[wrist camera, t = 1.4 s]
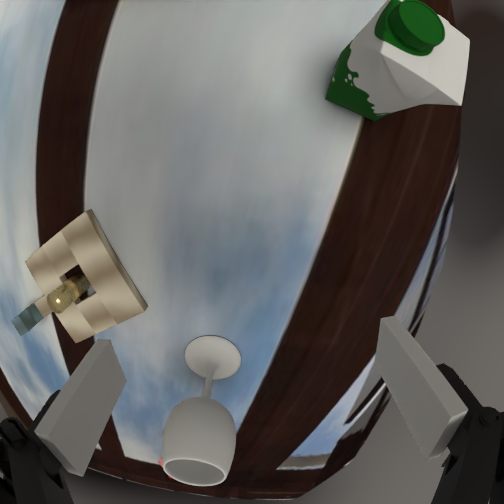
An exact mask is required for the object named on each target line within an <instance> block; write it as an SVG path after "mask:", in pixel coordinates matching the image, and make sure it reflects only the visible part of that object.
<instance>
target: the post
mask: <svg viewBox="0 0 504 504" xmlns="http://www.w3.org/2000/svg"><path fill="white" fill-rule="evenodd" d="M89 287H90V282H89V280H88V279H87V277H86V275H85V274H84V272H77V273H76V274H75V275H73V276H72V277H71V278H69V279H68V280H67V281H65V282H64V283H63V284H61V285H60V286H59V287H57V288H56V289H55V290H53V291H52V292H51V293H50V294H48V296H47V303H48V306H49V307H50V309H51V310H52V311H53V312H55V313H57V314H60V313H62V312H63V311H64V310H65V309H66V308H67V307H68V306H70V305H71V304H72V303H73V302H74V301H75V300H76V299H77V298H78V297H79V296H81V295H82V294H83V293H84V292H85V291H86V290H87V289H88V288H89Z"/></svg>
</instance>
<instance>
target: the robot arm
mask: <svg viewBox="0 0 504 504" xmlns="http://www.w3.org/2000/svg"><path fill="white" fill-rule="evenodd" d="M375 365H376V367H377V369H378V371H379V372H380V374H381V376H382V378H383V380H384V382H385V383H386V385H387V387H388V389H389V391H390V393H391V395H392V396H393V398H394V400H395V402H396V404H397V405H398V408H399V410H400V411H401V414H402V415H403V417H404V419H405V421H406V423H407V425H408V427H409V429H410V431H411V433H412V435H413V437H414V439H415V441H416V443H417V445H418V447H419V449H420V451H421V453H422V455H423V457H424V459H425V461H429V460H431V459H433V458H436V457H438V456H440V455H442V454H443V452H444V451H445V449H446V447H448V448H449V450H450V454H449V455H448V457H447V458H446V460H445V461H444V463H443V464H442V467H444V466H445V468H444V471H443V474H442V477H441V480H440V482H439V485H438V488H437V490H436V493H435V495H434V498H433V500H432V503H431V504H488V501H489V504H504V412H501V413H499V412H498V411H497V410H496V409H495V408H491V407H483V406H482V405H481V404H480V403H479V402H478V400H477V399H476V398H475V396H474V395H473V394H472V392H471V391H470V390H469V389H468V387H467V386H466V385H464V382H463V381H462V380H461V379H460V378H459V376H458V375H457V374H456V372H455V371H454V370H453V369H452V368H450V367H449V366H447V365H445V364H444V363H443V364H440V365H437V366H435V364H434V363H433V362H432V360H431V359H430V358H429V357H428V355H427V354H426V353H425V352H424V351H423V349H422V348H421V347H420V345H419V344H418V343H417V342H416V340H415V339H414V338H413V337H412V336H411V334H410V333H409V332H408V331H407V330H406V328H405V327H404V326H403V325H402V324H401V322H400V321H399V320H398V319H397V318H396V316H391V317H386V318H381V322H380V330H379V337H378V344H377V351H376V357H375ZM126 381H127V380H126V378H125V376H124V373H123V371H122V369H121V366H120V364H119V361H118V359H117V356H116V354H115V351H114V349H113V346H112V343H111V340H108V339H98V340H97V341H96V342H95V344H94V345H93V346H92V348H91V349H90V350H89V352H88V353H87V355H86V356H85V357H84V359H83V360H82V361H81V363H80V364H79V366H78V367H77V368H76V370H75V371H74V373H73V374H72V375H71V377H70V378H69V380H68V381H67V382H66V384H65V385H64V387H63V388H62V390H57V391H56V392H55V393H54V394H52V395H51V396H50V397H49V399H48V400H47V402H46V403H45V405H44V406H43V408H42V409H41V411H40V412H39V414H38V415H37V417H36V418H35V420H34V421H33V423H32V424H31V426H30V427H29V429H28V430H26V429H25V428H24V426H23V425H22V424H21V422H20V421H19V420H18V419H17V418H14V417H10V418H6V419H4V420H3V421H2V422H1V423H0V437H1V438H2V439H0V472H1V473H3V474H4V476H3V479H2V478H1V477H0V504H74V503H73V500H72V498H71V495H70V492H69V490H68V487H67V484H66V482H65V478H64V475H63V473H62V472H61V470H60V467H61V466H62V465H63V466H64V467H65V468H66V469H67V471H68V472H70V473H73V474H76V475H79V476H83V475H84V473H85V471H86V468H87V466H88V464H89V461H90V459H91V457H92V454H93V452H94V450H95V447H96V445H97V443H98V441H99V439H100V436H101V434H102V432H103V430H104V428H105V425H106V423H107V421H108V419H109V417H110V415H111V412H112V410H113V408H114V406H115V404H116V402H117V400H118V398H119V396H120V394H121V392H122V390H123V387H124V385H125V383H126ZM445 464H446V465H445ZM489 497H490V500H489Z"/></svg>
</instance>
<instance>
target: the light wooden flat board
mask: <svg viewBox="0 0 504 504" xmlns="http://www.w3.org/2000/svg"><path fill="white" fill-rule="evenodd" d="M25 263H26V265H27V266H28V268H29V270H30V272H31V274H32V276H33V277H34V279H35V281H36V283H37V285H38V286H39V288H40V290H41V291H42V293H43V295H44V296H43V297H41V298H40V299H38V300H37V301H36V302H34V303H33V304H31V305H30V306H29V307H27V308H26V309H25V310H24V311H23V312H21V313H20V314H19V315H18V316H17V317H15V318H14V319H13V320H12V321H11V322H12V323H13V325H14V326H15V328H16V329H17V331H18V332H19V334H20V335H21V336H22V335H24V334H25V333H27V332H28V331H29V330H31V329H32V328H33V327H34V326H35V325H36V324H37V323H38V322H39V321H40V320H41V319H43V318H44V317H45V316H47V315H48V314H50V313H52V312H53V311H52V310H51V309H50V307H49V306H48V303H47V296H48V294H50V293H51V292H52V291H53V290H55V289H56V288H57V287H59V286H60V285H61V284H63V283H64V282H65V281H67V280H68V279H67V277H66V276H65V273H66V272H67V271H69V270H70V269H72V268H73V267H75V266H76V265H78V264H79V265H80V267H81V269H82V270H83V272H84V274H85V275H86V277H87V279H88V280H89V282H90V284H91V285H92V287H93V288H94V290H95V293H93V294H91V295H90V296H88V297H86V298H84V299H83V300H80V299H79V297H78V298H77V299H76V300H75V301H74V302H73V303H72V304H71V305H70V306H68V307H67V308H66V309H65V310H64V311H63V312H62V313H60V314H57V313H55V314H56V315H57V317H58V318H59V320H60V321H61V323H62V324H63V326H64V327H65V329H66V330H67V332H68V333H69V334H70V336H71V337H72V339H73V340H74V341H75V343H77V342H80V341H82V340H84V339H86V338H88V337H90V336H93V335H95V334H97V333H99V332H101V331H103V330H106V329H108V328H110V327H112V326H114V325H116V324H118V323H121V322H123V321H125V320H127V319H129V318H131V317H133V316H136V315H138V314H140V313H142V312H144V311H145V310H146V308H147V307H148V306H147V304H146V303H145V301H144V300H143V298H142V297H141V295H140V294H139V292H138V290H137V289H136V287H135V286H134V284H133V282H132V281H131V279H130V278H129V276H128V274H127V273H126V271H125V269H124V268H123V266H122V264H121V263H120V261H119V259H118V258H117V256H116V254H115V252H114V251H113V249H112V247H111V246H110V244H109V242H108V240H107V238H106V237H105V235H104V233H103V231H102V229H101V227H100V226H99V224H98V222H97V220H96V218H95V216H94V214H93V212H92V210H88V211H85V212H84V213H83V214H81V215H80V216H79V217H77V218H76V219H75V220H73V221H72V222H71V223H70V224H68V225H67V226H66V227H65V228H63V229H62V230H61V231H60V232H58V233H57V234H56V235H55V236H53V237H52V238H51V239H50V240H49V241H47V242H46V243H45V244H44V245H43V246H42V247H40V248H39V249H38V250H37V251H36V252H35V253H34V254H32V255H31V256H30V257H29V258H28V259H27V260H26V261H25Z"/></svg>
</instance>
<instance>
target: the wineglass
mask: <svg viewBox="0 0 504 504" xmlns="http://www.w3.org/2000/svg"><path fill="white" fill-rule="evenodd" d="M185 360H186V363H187V365H188V366H189V368H190V369H191V370H192V371H193V372H195V373H196V374H198V375H199V376H202V377H204V378H206V380H205V386H204V390H203V394H202V397H192V398H189V399H186V400H184V401H182V402H180V403H179V404H178V405H176V406H175V407H174V409H173V410H172V411H171V413H170V415H169V417H168V419H167V422H166V425H165V429H164V433H163V440H162V465H163V469H164V471H165V472H166V473H167V474H168V475H169V476H170V477H172V478H174V479H175V480H178V481H180V482H183V483H186V484H190V485H196V486H212V485H216V484H219V483H221V482H223V481H224V480H225V479H226V477H227V475H228V472H229V469H230V466H231V463H232V460H233V456H234V451H235V443H236V430H235V423H234V420H233V418H232V415H231V414H230V412H229V411H228V410H227V409H226V408H225V407H224V406H223V405H222V404H221V403H219V402H218V401H216V400H214V399H211V386H212V380H213V379H224V378H227V377H229V376H231V375H233V374H234V373H235V372H236V371H237V370H238V368H239V367H240V364H241V356H240V353H239V351H238V349H237V348H236V347H235V346H234V345H233V344H232V343H231V342H229V341H228V340H226V339H224V338H221V337H217V336H202V337H199V338H197V339H195V340H193V341H192V342H190V343H189V345H188V346H187V348H186V350H185Z"/></svg>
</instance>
